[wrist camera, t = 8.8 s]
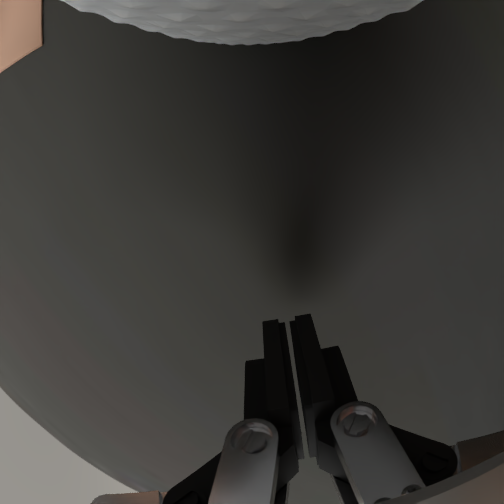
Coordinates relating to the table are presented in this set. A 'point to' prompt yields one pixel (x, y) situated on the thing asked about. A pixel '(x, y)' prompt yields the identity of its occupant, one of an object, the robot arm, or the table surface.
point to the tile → (19, 30)
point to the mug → (244, 17)
